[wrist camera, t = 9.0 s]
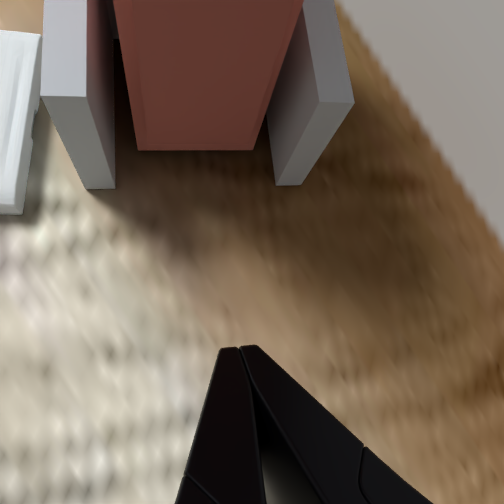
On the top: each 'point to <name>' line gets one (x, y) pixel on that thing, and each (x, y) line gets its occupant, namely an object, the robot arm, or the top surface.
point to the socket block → (102, 88)
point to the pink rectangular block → (202, 68)
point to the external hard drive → (17, 113)
